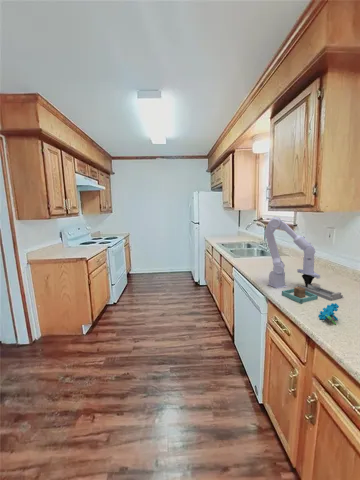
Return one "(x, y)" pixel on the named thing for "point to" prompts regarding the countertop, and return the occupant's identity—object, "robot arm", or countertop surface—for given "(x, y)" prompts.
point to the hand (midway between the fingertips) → (307, 286)
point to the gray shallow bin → (324, 293)
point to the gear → (329, 312)
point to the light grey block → (314, 286)
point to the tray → (299, 300)
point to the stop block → (299, 292)
